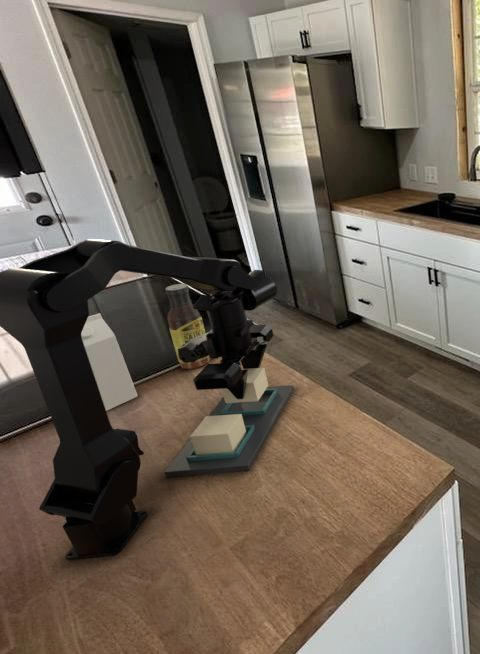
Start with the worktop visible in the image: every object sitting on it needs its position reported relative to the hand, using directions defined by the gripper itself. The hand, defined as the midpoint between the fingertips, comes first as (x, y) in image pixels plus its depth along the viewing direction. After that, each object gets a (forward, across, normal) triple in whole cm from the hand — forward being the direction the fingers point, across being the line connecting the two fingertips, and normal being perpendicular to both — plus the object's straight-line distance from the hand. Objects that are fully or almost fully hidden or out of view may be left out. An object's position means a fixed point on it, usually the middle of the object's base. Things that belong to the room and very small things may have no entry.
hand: (246, 390), depth 83 cm
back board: (+5, +5, 0) cm, 7 cm away
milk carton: (+5, -6, -30) cm, 31 cm away
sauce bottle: (+5, -19, -20) cm, 28 cm away
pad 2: (+1, 0, 0) cm, 1 cm away
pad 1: (+4, +11, 0) cm, 12 cm away
